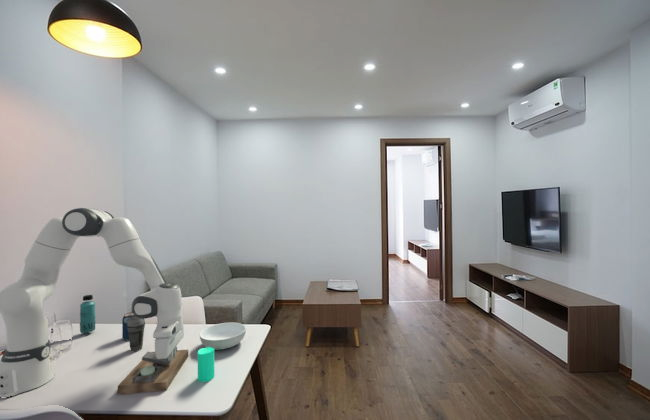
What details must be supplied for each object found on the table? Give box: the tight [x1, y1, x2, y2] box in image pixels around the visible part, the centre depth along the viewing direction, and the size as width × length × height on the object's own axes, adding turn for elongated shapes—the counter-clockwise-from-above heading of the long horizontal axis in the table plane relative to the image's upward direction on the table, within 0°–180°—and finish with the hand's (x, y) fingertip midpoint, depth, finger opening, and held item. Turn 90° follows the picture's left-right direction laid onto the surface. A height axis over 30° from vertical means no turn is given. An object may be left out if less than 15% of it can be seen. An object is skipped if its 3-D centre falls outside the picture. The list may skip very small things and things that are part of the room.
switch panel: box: [117, 346, 189, 395], centre depth 117 cm, size 16×25×5 cm, turn 8°
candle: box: [197, 347, 215, 383], centre depth 114 cm, size 6×6×12 cm
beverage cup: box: [127, 316, 146, 353], centre depth 138 cm, size 7×7×20 cm
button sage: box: [141, 366, 155, 376], centre depth 110 cm, size 4×4×2 cm
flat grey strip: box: [141, 351, 171, 366], centre depth 117 cm, size 10×4×1 cm, turn 98°
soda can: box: [121, 311, 135, 341], centre depth 150 cm, size 7×7×12 cm
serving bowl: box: [199, 322, 247, 350], centre depth 142 cm, size 21×21×7 cm
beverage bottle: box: [79, 294, 97, 334], centre depth 156 cm, size 6×7×20 cm
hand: (171, 359), depth 118 cm, fingers closed, pressing on flat grey strip
